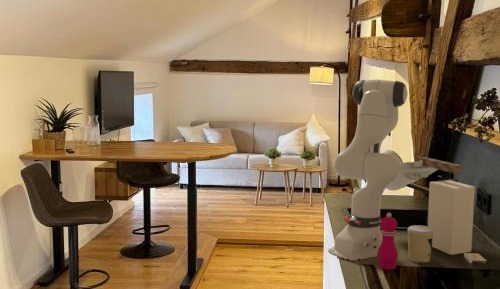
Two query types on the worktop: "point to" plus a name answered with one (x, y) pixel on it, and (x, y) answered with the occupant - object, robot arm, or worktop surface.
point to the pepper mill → (387, 243)
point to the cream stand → (451, 216)
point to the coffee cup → (420, 243)
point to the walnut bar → (441, 165)
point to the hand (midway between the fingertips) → (427, 161)
